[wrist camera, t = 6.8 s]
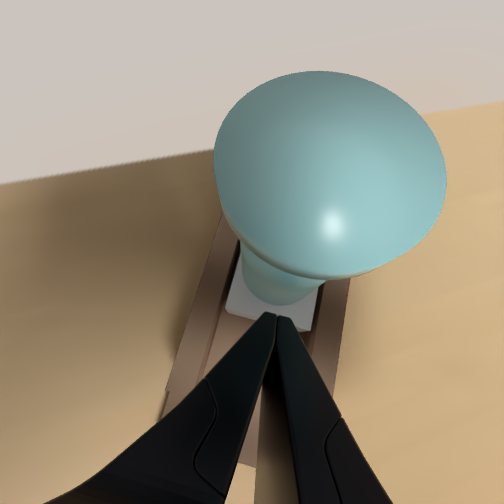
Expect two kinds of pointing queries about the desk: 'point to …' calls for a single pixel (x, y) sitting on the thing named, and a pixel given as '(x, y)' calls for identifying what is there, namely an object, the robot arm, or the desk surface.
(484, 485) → the desk surface
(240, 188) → the knob
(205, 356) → the mount
